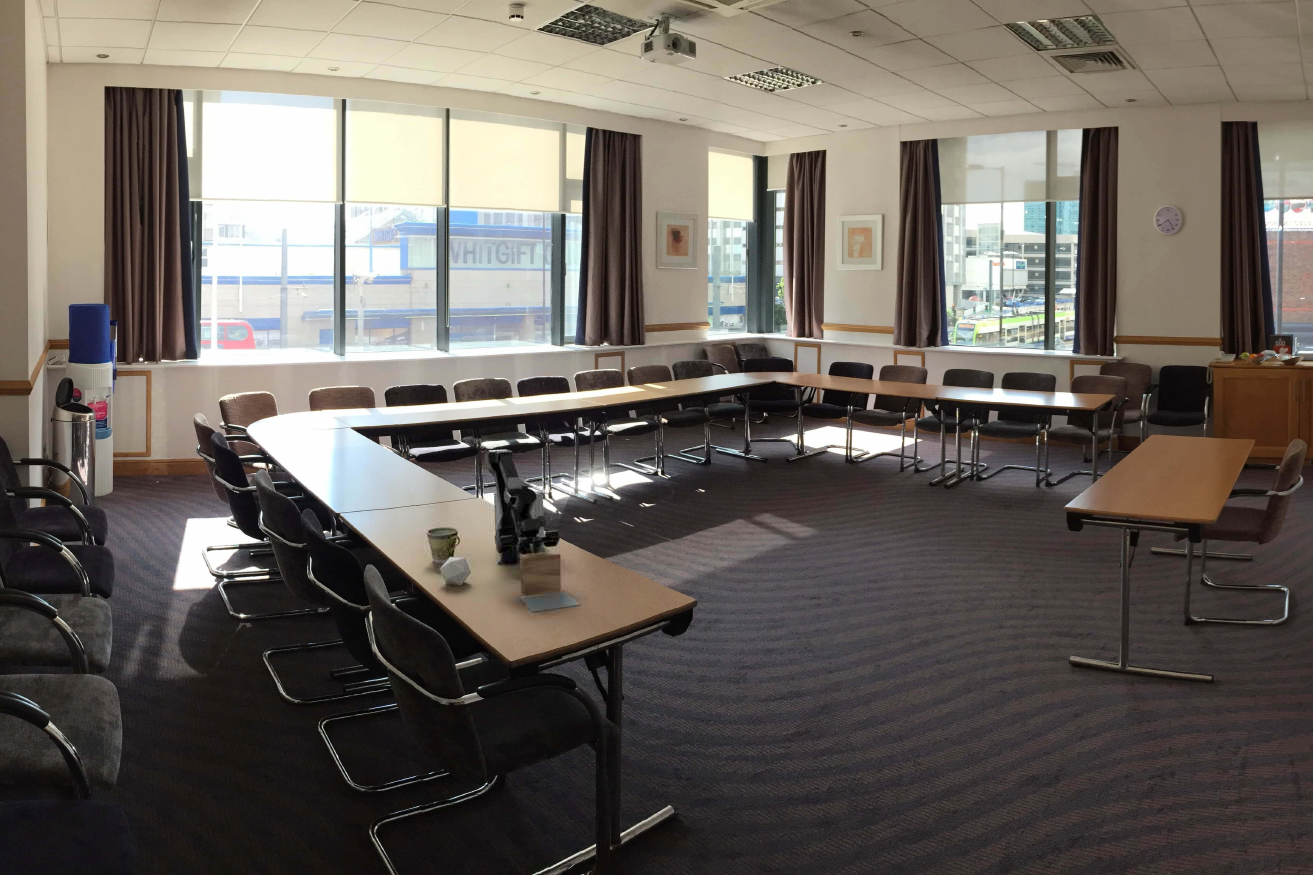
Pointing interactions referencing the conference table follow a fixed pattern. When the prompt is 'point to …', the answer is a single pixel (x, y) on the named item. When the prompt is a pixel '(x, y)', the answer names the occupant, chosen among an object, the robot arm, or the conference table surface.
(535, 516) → the hard drive box
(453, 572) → the die
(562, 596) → the felt mat
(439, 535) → the ceramic cup
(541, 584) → the walnut slab
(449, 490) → the conference table surface
